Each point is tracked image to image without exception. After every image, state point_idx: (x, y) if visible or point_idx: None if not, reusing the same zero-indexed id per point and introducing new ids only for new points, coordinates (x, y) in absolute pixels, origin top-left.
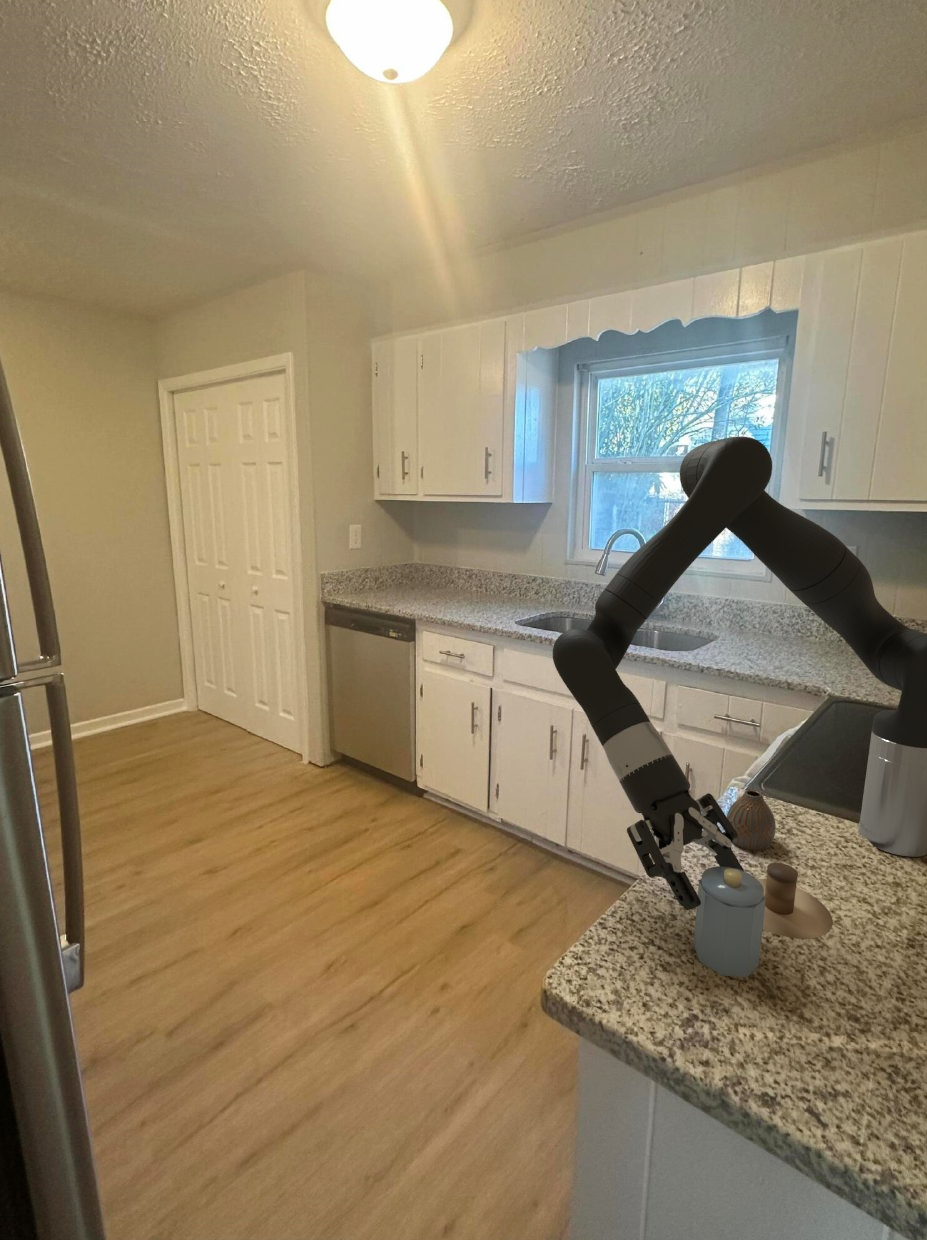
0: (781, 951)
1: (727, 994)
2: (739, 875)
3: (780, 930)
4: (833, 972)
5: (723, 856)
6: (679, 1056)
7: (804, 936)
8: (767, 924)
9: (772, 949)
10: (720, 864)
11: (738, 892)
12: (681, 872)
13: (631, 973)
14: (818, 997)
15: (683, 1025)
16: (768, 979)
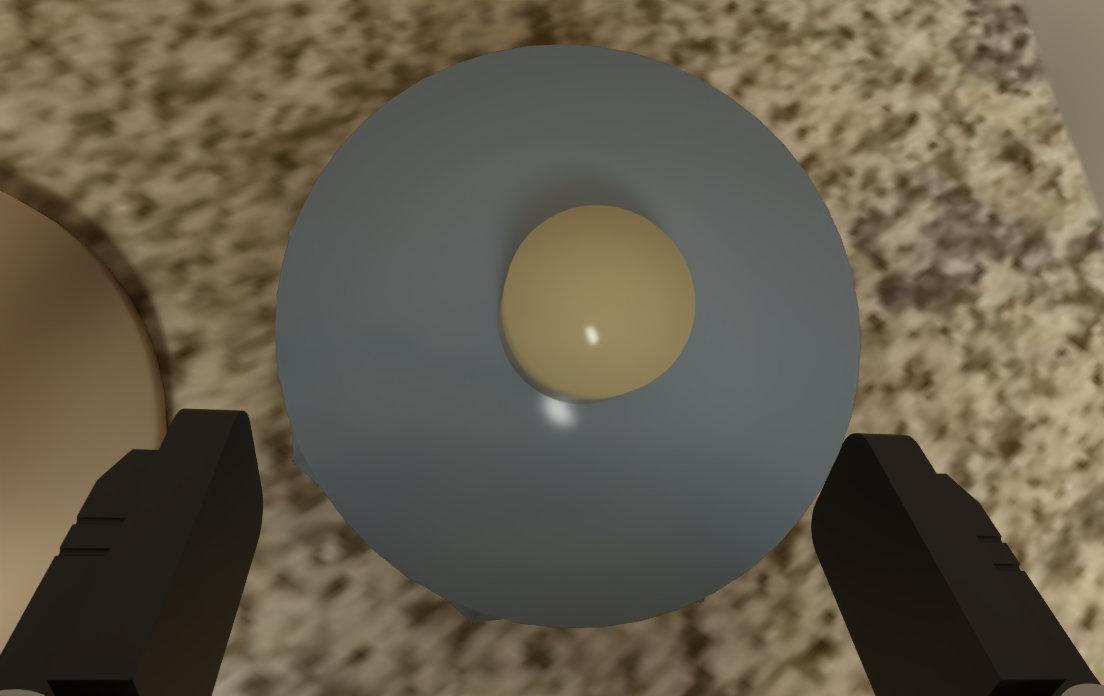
0: (211, 268)
1: None
2: (581, 229)
3: (81, 322)
4: (157, 57)
5: (169, 685)
6: (1070, 223)
7: (23, 220)
8: (86, 392)
9: (234, 302)
10: (205, 683)
11: (674, 198)
12: (1044, 680)
13: None
14: (378, 39)
15: (958, 292)
16: None
